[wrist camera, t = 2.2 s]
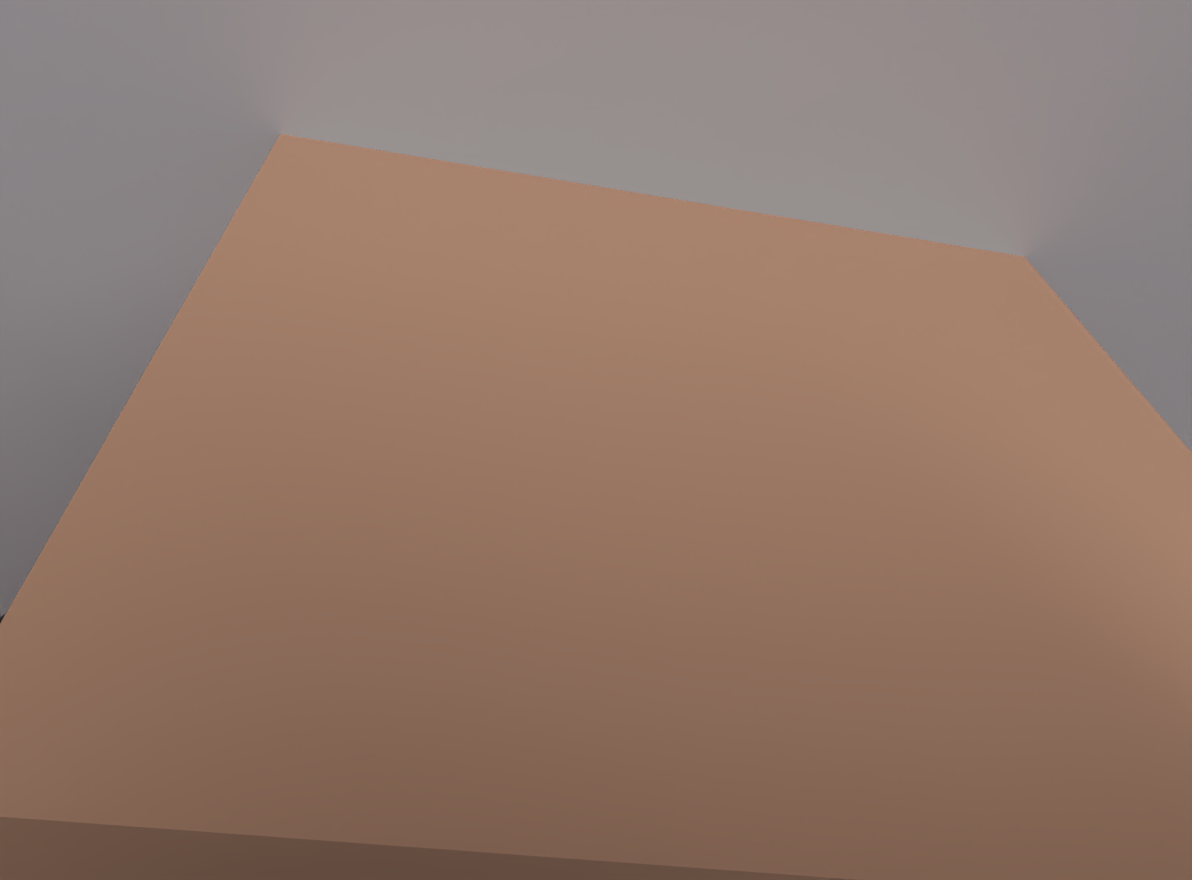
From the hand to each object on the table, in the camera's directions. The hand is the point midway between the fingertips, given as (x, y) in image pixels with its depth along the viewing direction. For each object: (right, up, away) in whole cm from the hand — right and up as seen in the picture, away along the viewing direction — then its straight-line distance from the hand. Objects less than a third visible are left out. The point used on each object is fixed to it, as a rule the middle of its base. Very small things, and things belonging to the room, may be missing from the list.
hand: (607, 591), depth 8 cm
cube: (0, +1, +1) cm, 1 cm away
